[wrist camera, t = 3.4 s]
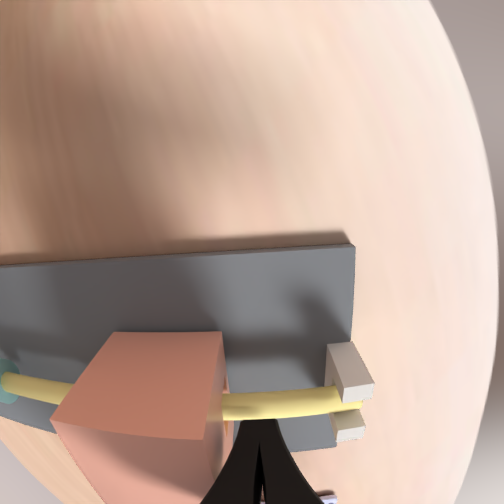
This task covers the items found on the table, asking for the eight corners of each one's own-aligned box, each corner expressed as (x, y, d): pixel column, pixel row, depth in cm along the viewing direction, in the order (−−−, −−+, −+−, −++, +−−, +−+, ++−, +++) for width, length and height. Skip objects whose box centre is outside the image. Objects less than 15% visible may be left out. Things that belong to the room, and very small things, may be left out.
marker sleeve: (234, 423, 14) (227, 523, 8) (141, 419, 14) (108, 507, 9) (221, 331, 13) (202, 440, 7) (113, 331, 13) (49, 419, 7)
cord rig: (335, 439, 16) (350, 495, 12) (1, 411, 16) (-25, 443, 12) (353, 243, 13) (396, 277, 9) (-54, 268, 13) (-96, 290, 9)
